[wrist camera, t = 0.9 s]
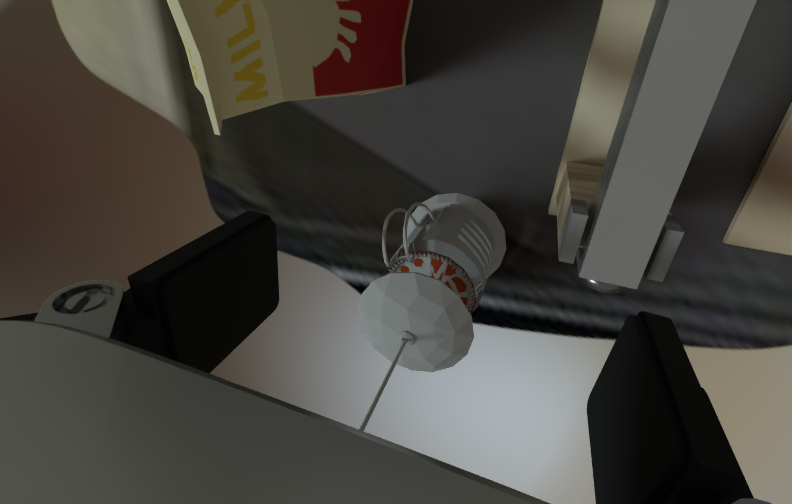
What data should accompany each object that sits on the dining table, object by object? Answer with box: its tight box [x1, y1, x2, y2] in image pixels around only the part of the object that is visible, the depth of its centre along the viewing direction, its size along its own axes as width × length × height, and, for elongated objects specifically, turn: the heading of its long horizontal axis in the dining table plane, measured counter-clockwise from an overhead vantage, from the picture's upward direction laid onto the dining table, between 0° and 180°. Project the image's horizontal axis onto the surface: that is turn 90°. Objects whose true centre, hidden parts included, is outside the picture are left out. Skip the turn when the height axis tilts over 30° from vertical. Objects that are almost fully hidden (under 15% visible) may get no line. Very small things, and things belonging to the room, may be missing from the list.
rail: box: [576, 0, 757, 293], centre depth 19 cm, size 24×3×3 cm, turn 176°
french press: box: [358, 193, 506, 431], centre depth 28 cm, size 10×12×25 cm
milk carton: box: [167, 0, 413, 135], centre depth 25 cm, size 9×9×20 cm
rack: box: [548, 0, 685, 282], centre depth 23 cm, size 24×6×12 cm, turn 176°
